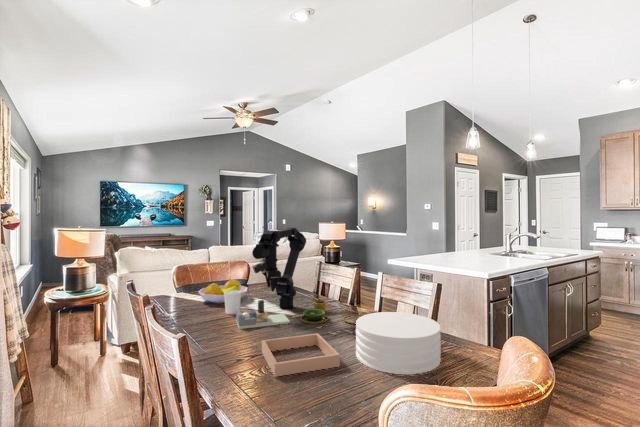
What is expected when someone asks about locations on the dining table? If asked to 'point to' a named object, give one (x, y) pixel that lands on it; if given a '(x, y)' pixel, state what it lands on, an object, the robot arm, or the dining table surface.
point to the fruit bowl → (221, 291)
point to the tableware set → (318, 314)
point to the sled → (260, 312)
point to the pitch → (252, 322)
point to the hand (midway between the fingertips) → (270, 289)
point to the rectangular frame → (299, 365)
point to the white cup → (232, 301)
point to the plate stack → (398, 342)
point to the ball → (246, 315)
